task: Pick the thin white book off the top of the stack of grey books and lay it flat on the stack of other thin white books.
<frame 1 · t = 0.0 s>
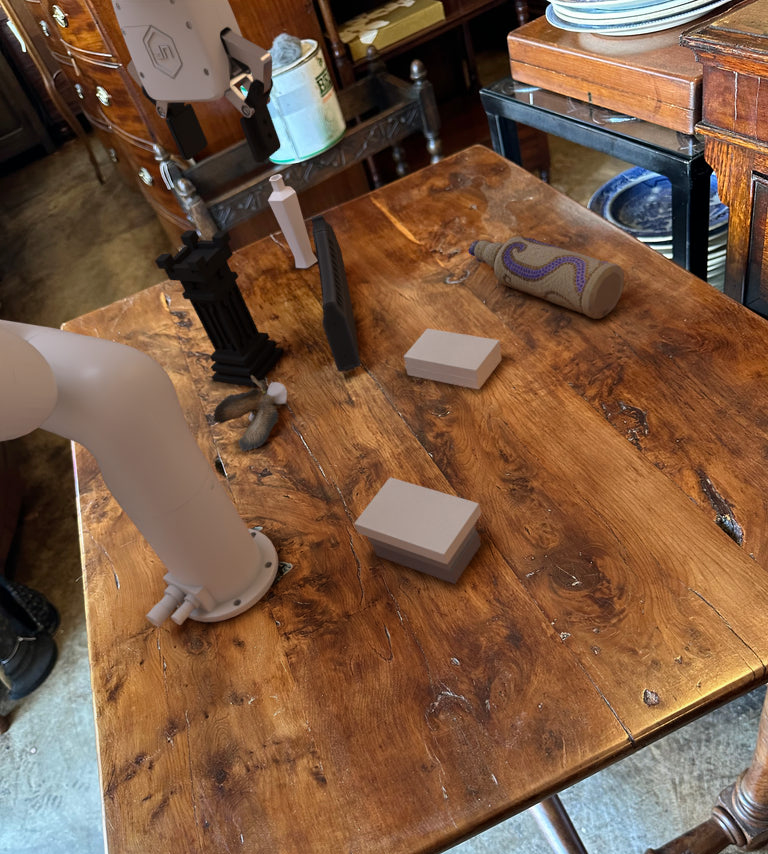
hand: (231, 154, 74), 37 cm above the table, tool pointing down, fingers open, 9 cm apart
white stack: (454, 367, 104), on the table
chess piece: (249, 367, 117), on the table
grey stack: (428, 550, 84), on the table
eagle figurine: (262, 427, 107), on the table
decorative bottle: (546, 287, 111), on the table
perfume bottle: (306, 263, 134), on the table
white book: (418, 523, 81), point 4 cm above the table, touching grey stack
magazine: (344, 318, 119), on the table
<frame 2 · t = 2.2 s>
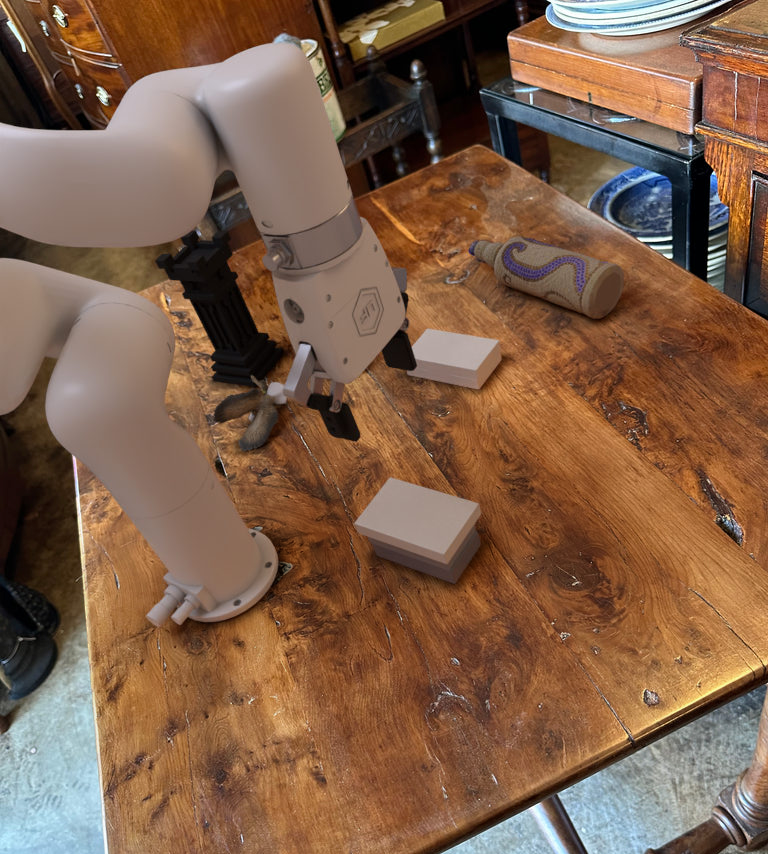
hand: (375, 400, 72), 20 cm above the table, tool pointing down, fingers open, 9 cm apart
nothing on the table moved.
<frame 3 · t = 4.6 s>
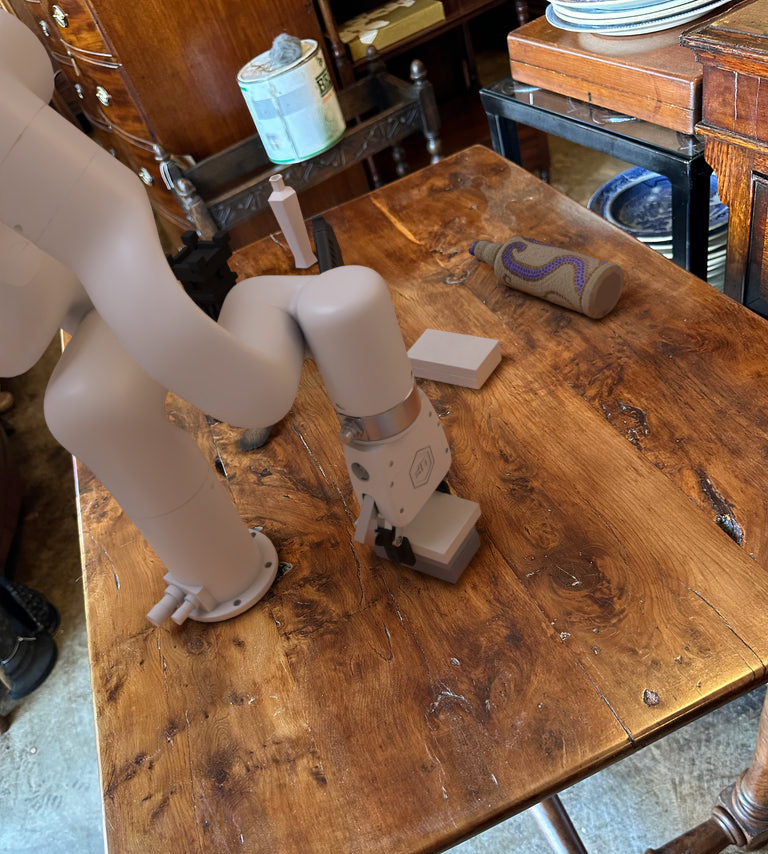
hand: (422, 532, 82), 3 cm above the table, tool pointing down, fingers closed on white book, 7 cm apart
white book: (418, 523, 81), point 4 cm above the table, touching grey stack, gripper
everything else where it was.
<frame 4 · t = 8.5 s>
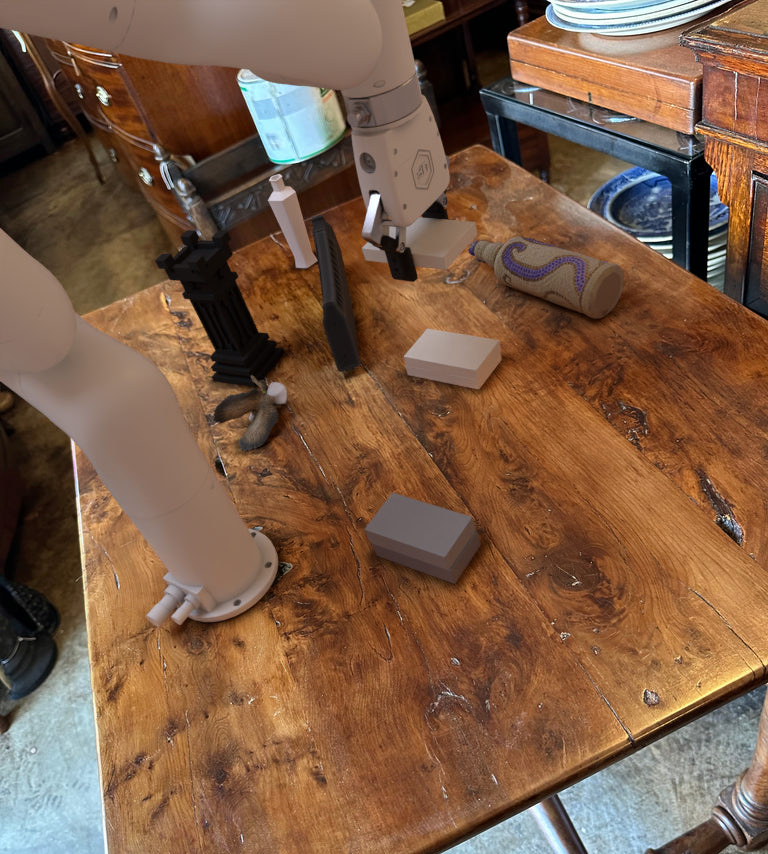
hand: (423, 258, 90), 18 cm above the table, tool pointing down, fingers closed on white book, 7 cm apart
white book: (420, 247, 89), point 19 cm above the table, touching gripper
everything else where it was.
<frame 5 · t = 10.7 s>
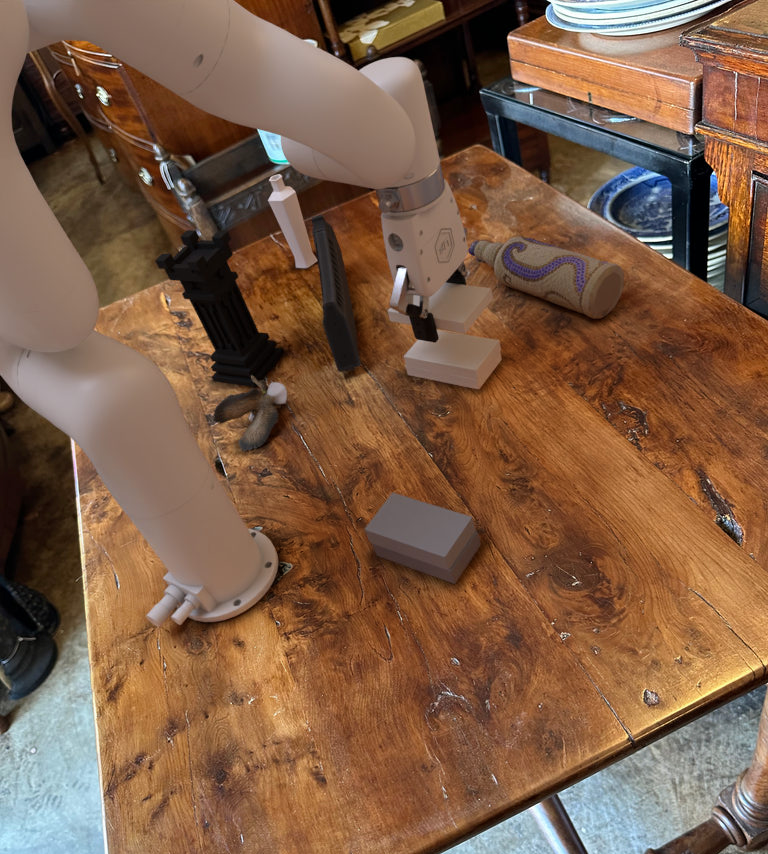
hand: (442, 319, 99), 8 cm above the table, tool pointing down, fingers closed on white book, 7 cm apart
white book: (441, 310, 98), point 9 cm above the table, touching gripper
everything else where it was.
when the fingers open (2 cm above the table, at t = 12.6 s): white book stays where it is, resting on white stack.
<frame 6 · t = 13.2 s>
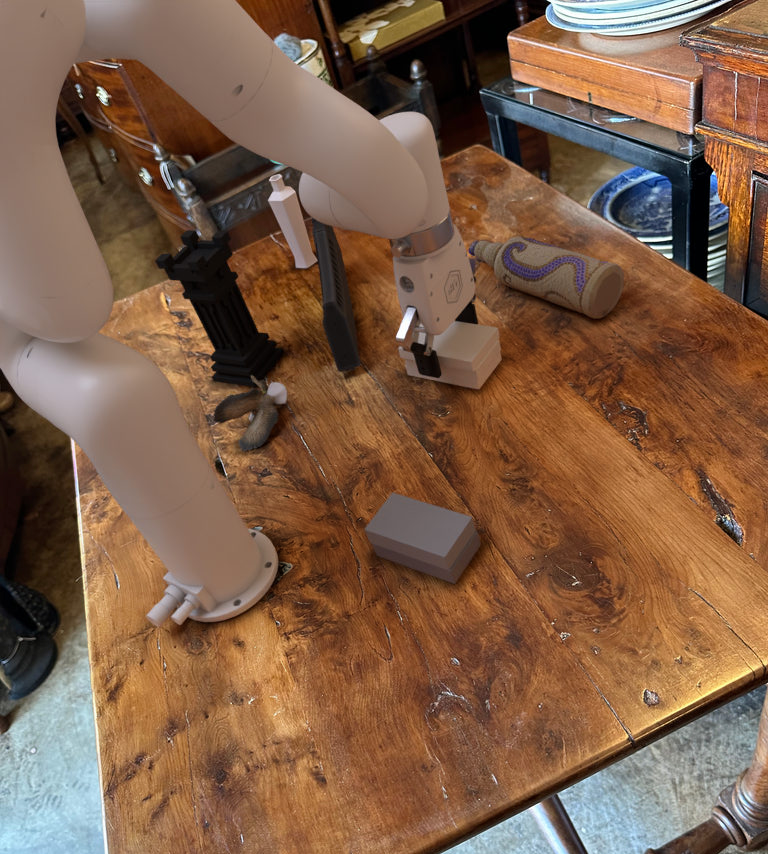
hand: (449, 351, 102), 3 cm above the table, tool pointing down, fingers open, 9 cm apart
white book: (449, 348, 102), point 3 cm above the table, touching white stack
everything else where it was.
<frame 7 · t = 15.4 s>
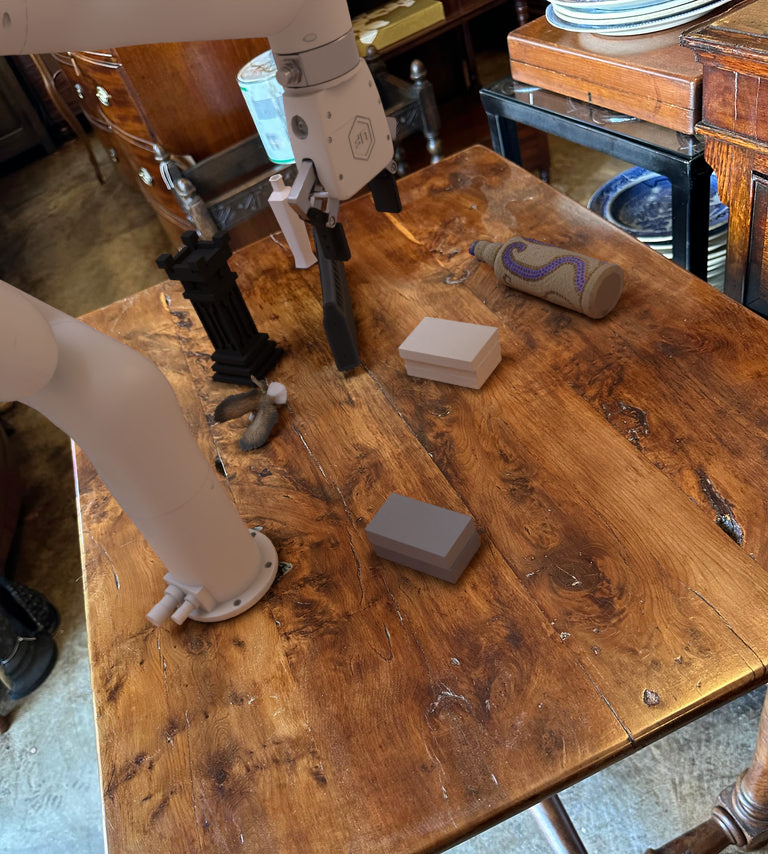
hand: (364, 234, 83), 24 cm above the table, tool pointing down, fingers open, 9 cm apart
nothing on the table moved.
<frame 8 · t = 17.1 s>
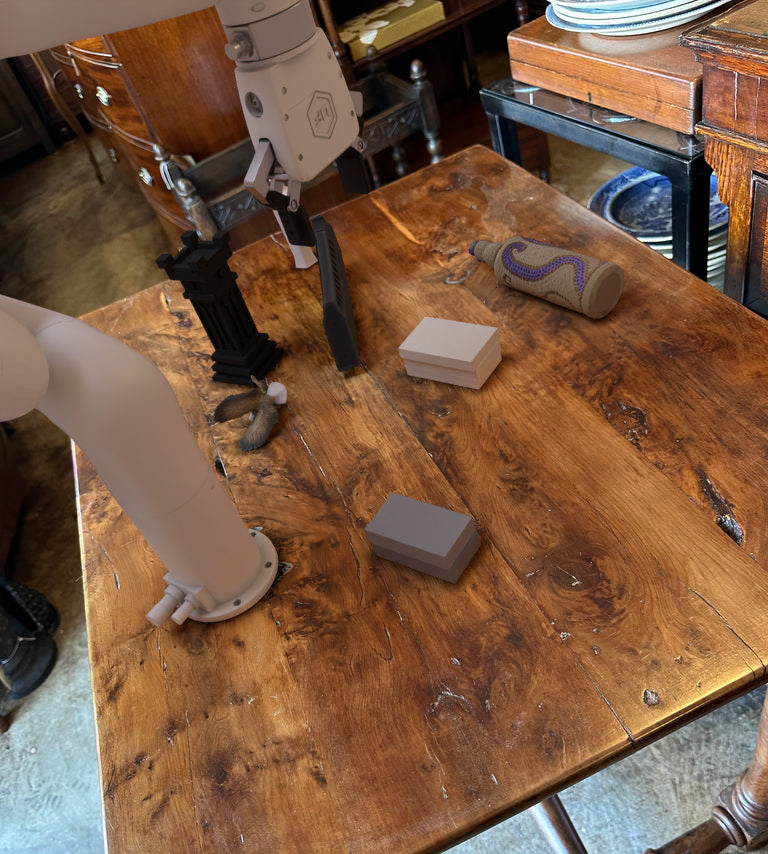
hand: (332, 217, 79), 28 cm above the table, tool pointing down, fingers open, 9 cm apart
nothing on the table moved.
at the end: white book 0.1 cm off-centre on the white stack, point 3.2 cm above the white stack's base; white book tilted 0°; the gripper is holding nothing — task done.
